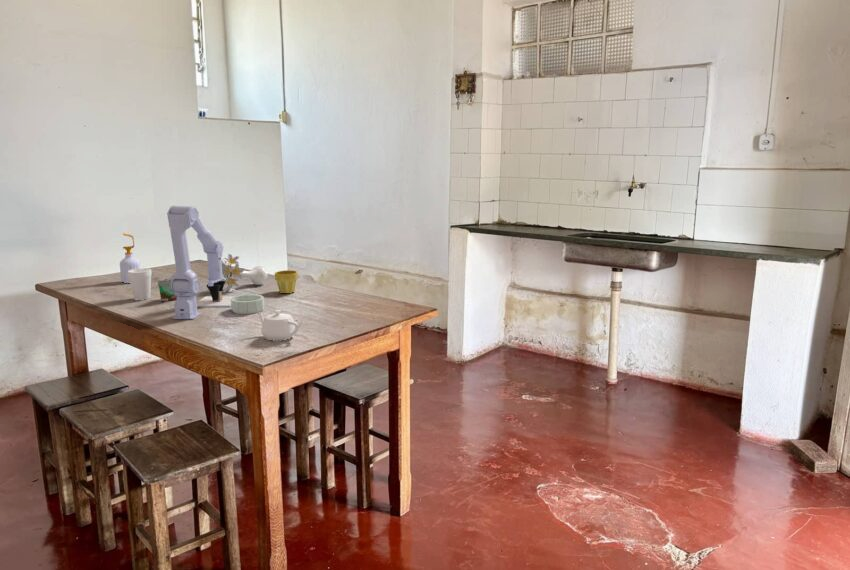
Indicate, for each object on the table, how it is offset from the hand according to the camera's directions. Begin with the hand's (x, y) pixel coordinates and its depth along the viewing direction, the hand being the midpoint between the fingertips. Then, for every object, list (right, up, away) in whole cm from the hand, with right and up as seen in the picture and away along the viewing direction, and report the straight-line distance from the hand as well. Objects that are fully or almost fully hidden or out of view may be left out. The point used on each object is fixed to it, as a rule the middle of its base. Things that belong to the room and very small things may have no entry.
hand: (217, 298), depth 270 cm
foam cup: (-36, 0, +7) cm, 37 cm away
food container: (-21, -1, +5) cm, 22 cm away
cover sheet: (0, -1, 0) cm, 2 cm away
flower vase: (+3, +4, +29) cm, 29 cm away
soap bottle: (-57, +7, +41) cm, 71 cm away
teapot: (+38, -13, -47) cm, 62 cm away
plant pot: (+26, +2, +20) cm, 33 cm away
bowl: (+17, -5, -12) cm, 21 cm away
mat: (0, -2, 0) cm, 2 cm away
